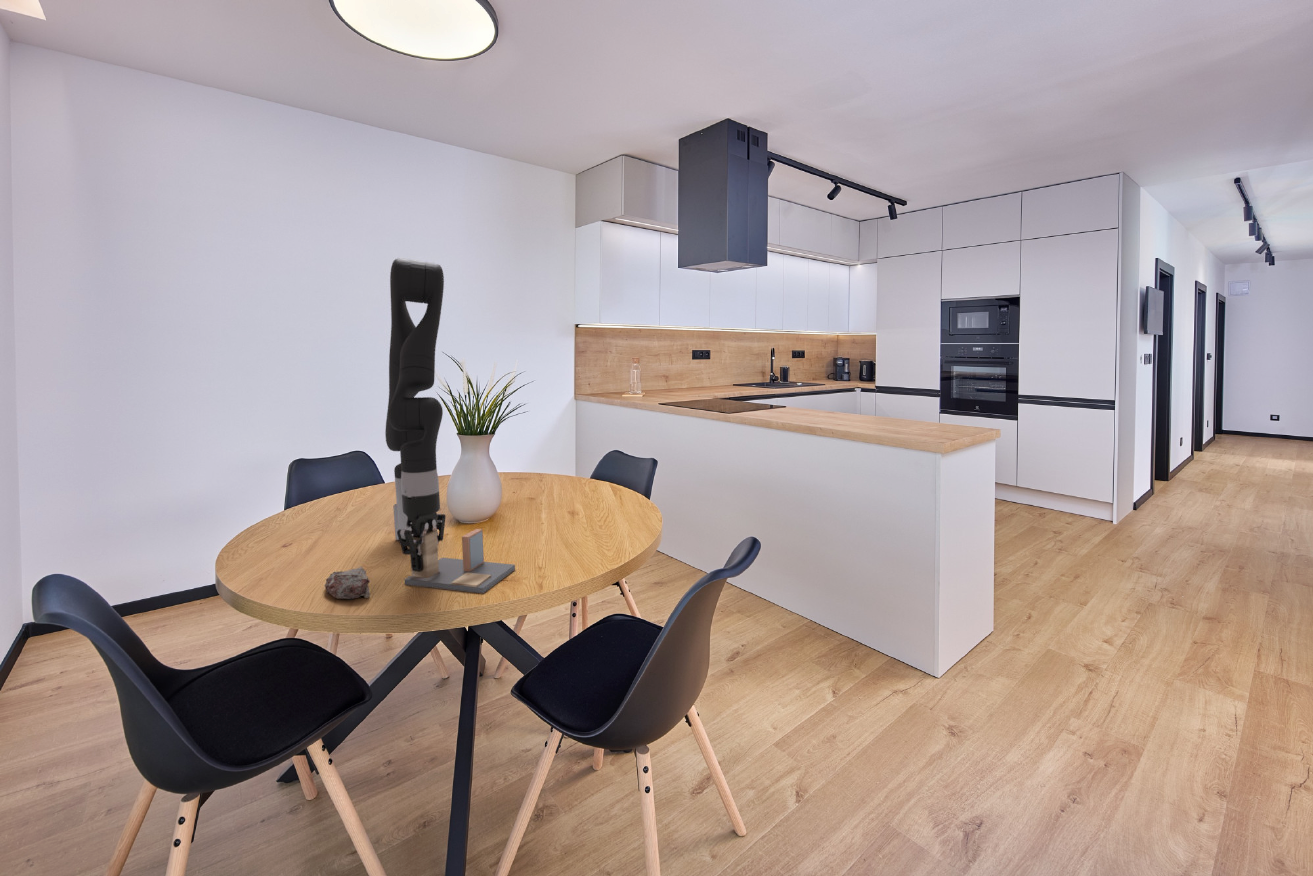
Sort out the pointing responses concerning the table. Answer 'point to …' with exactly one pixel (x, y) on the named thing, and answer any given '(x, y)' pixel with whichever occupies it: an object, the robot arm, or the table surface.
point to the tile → (472, 550)
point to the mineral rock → (348, 584)
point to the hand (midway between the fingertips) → (425, 566)
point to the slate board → (454, 570)
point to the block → (428, 558)
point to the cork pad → (471, 579)
